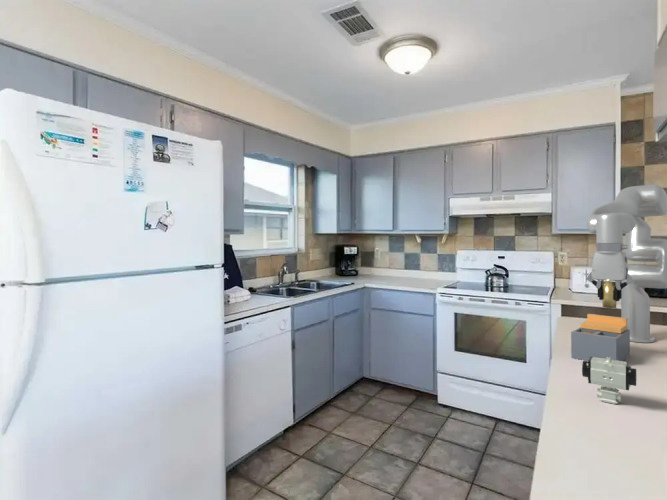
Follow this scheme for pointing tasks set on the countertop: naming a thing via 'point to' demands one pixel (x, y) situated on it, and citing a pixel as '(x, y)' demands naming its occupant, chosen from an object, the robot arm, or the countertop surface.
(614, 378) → the pneumatic valve
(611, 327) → the cover
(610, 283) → the pin
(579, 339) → the housing
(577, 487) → the countertop surface
